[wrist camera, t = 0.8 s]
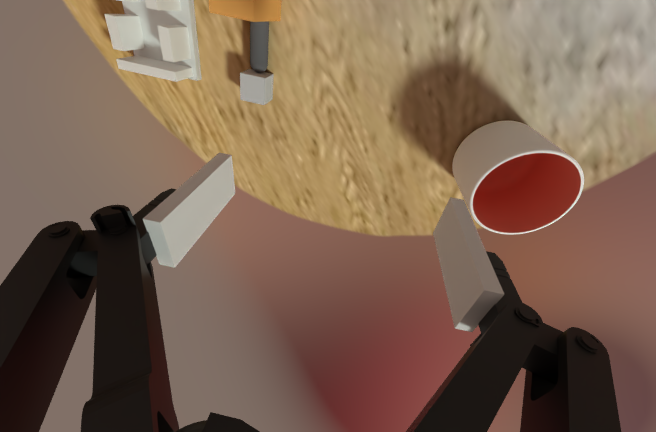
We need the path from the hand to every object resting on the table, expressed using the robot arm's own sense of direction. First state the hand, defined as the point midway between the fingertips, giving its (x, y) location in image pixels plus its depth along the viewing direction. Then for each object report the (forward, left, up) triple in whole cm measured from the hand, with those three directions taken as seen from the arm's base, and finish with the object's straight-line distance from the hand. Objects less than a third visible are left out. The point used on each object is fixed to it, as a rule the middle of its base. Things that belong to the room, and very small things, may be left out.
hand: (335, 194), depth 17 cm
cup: (+3, +18, -22) cm, 29 cm away
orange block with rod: (-8, -13, -22) cm, 26 cm away
